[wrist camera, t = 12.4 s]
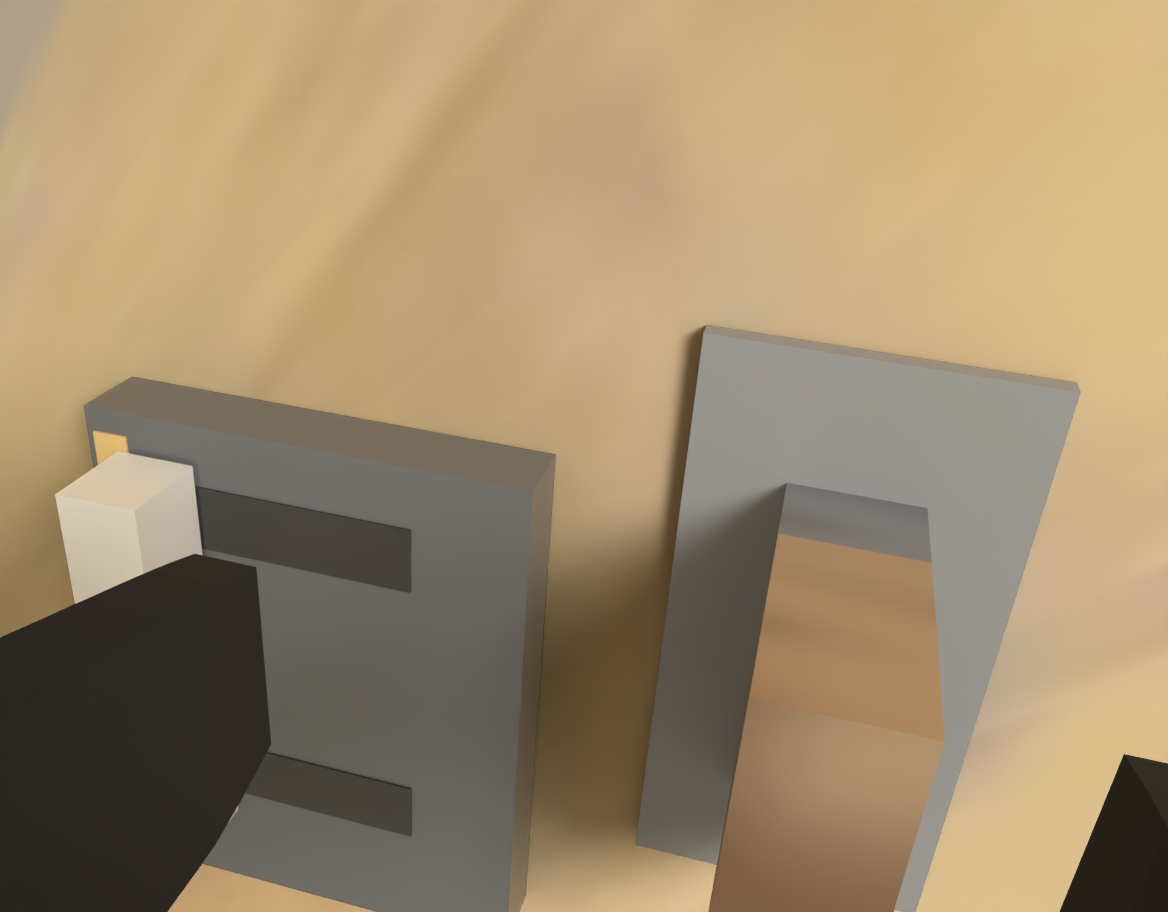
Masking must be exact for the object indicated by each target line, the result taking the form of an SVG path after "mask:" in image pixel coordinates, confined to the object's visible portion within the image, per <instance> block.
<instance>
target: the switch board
mask: <svg viewBox="0 0 1168 912" xmlns="http://www.w3.org/2000/svg"><path fill="white" fill-rule="evenodd" d="M84 410H85V416H86V422H87V428H88V435H89V441H90V447H91V453H92V460H93V466H94V467H96V466H97V465H99V464H100V463H102V462H103V461H105V460H106V459H108V458H109V457H111V456H112V455H113V454H115V453H116V452H118V451H120V452H125V453H130V454H135V455H140V456H145V457H150V458H155V459H160V460H165V461H170V462H175V463H180V464H185V465H190V466H193V475H194V484H195V493H196V502H197V511H198V519H199V528H200V537H201V546H202V555H203V556H208V557H213V558H217V559H222V560H226V561H231V562H236V563H240V564H245V565H250V566H254V567H256V568H257V580H258V592H259V604H260V616H261V628H262V639H263V651H264V663H265V675H266V687H267V699H268V711H269V723H270V735H271V746H270V747H269V749H268V751H267V753H266V755H265V757H264V759H263V761H262V762H261V764H260V766H259V768H258V770H257V772H256V774H255V775H254V777H253V779H252V781H251V783H250V785H249V787H248V789H247V790H246V792H245V794H244V796H243V798H242V800H241V801H240V803H239V805H238V810H237V812H236V813H235V814H234V816H233V817H232V819H231V820H230V821H229V823H228V824H227V826H226V827H225V829H224V831H223V833H222V834H221V836H220V838H219V839H218V841H217V843H216V845H215V846H214V847H213V849H212V850H211V852H210V853H209V855H208V856H207V857H206V859H205V860H204V862H203V863H202V864H205V865H209V866H213V867H216V868H220V869H224V870H227V871H231V872H234V873H238V874H242V875H245V876H249V877H253V878H256V879H260V880H263V881H267V882H271V883H274V884H278V885H282V886H285V887H289V888H292V889H296V890H300V891H303V892H307V893H310V894H314V895H318V896H321V897H325V898H329V899H332V900H336V901H339V902H343V903H347V904H350V905H354V906H358V907H361V908H365V909H368V910H372V911H376V912H520V909H521V907H522V904H523V901H524V899H525V896H526V883H527V868H528V853H529V839H530V824H531V809H532V795H533V780H534V765H535V751H536V736H537V722H538V707H539V692H540V678H541V663H542V648H543V634H544V619H545V604H546V590H547V575H548V560H549V546H550V531H551V516H552V502H553V487H554V472H555V458H556V455H555V454H550V453H544V452H539V451H533V450H528V449H522V448H517V447H511V446H506V445H500V444H495V443H490V442H484V441H479V440H473V439H468V438H462V437H457V436H451V435H446V434H441V433H435V432H430V431H424V430H419V429H413V428H408V427H402V426H397V425H391V424H386V423H381V422H375V421H370V420H364V419H359V418H353V417H348V416H342V415H337V414H332V413H326V412H321V411H315V410H310V409H304V408H299V407H293V406H288V405H282V404H277V403H272V402H266V401H261V400H255V399H250V398H244V397H239V396H233V395H228V394H223V393H217V392H212V391H206V390H201V389H195V388H190V387H184V386H179V385H173V384H168V383H163V382H157V381H152V380H146V379H141V378H135V377H131V378H129V379H128V380H126V381H124V382H123V383H121V384H119V385H118V386H116V387H114V388H113V389H111V390H109V391H108V392H106V393H104V394H103V395H101V396H99V397H97V398H96V399H94V400H92V401H91V402H89V403H87V404H86V405H84Z"/></svg>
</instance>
